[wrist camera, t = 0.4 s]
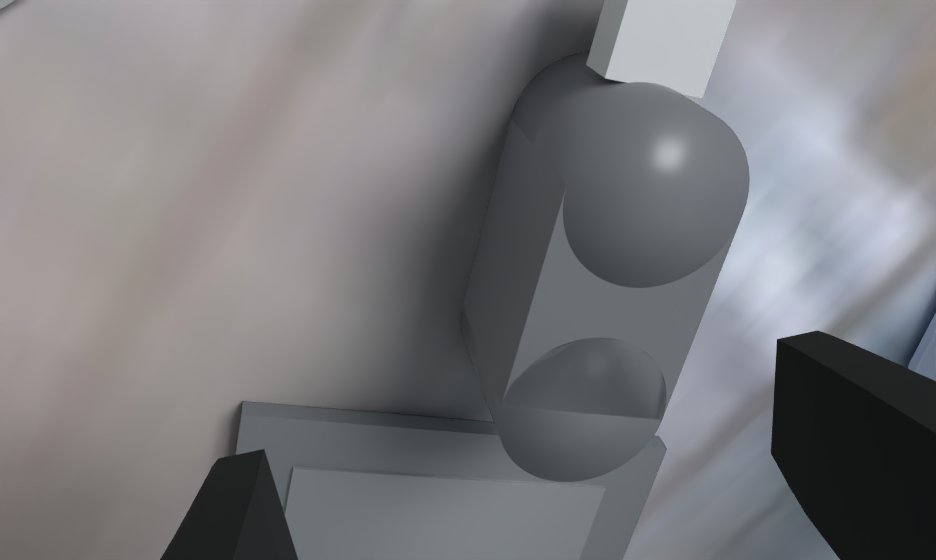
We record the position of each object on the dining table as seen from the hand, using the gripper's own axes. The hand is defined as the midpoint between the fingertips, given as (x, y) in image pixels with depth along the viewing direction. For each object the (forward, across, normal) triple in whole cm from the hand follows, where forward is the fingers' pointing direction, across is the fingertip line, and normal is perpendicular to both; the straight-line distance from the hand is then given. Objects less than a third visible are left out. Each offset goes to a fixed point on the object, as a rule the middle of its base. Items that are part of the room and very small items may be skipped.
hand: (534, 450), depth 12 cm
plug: (+10, -3, 0) cm, 10 cm away
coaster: (+10, +2, +12) cm, 16 cm away
